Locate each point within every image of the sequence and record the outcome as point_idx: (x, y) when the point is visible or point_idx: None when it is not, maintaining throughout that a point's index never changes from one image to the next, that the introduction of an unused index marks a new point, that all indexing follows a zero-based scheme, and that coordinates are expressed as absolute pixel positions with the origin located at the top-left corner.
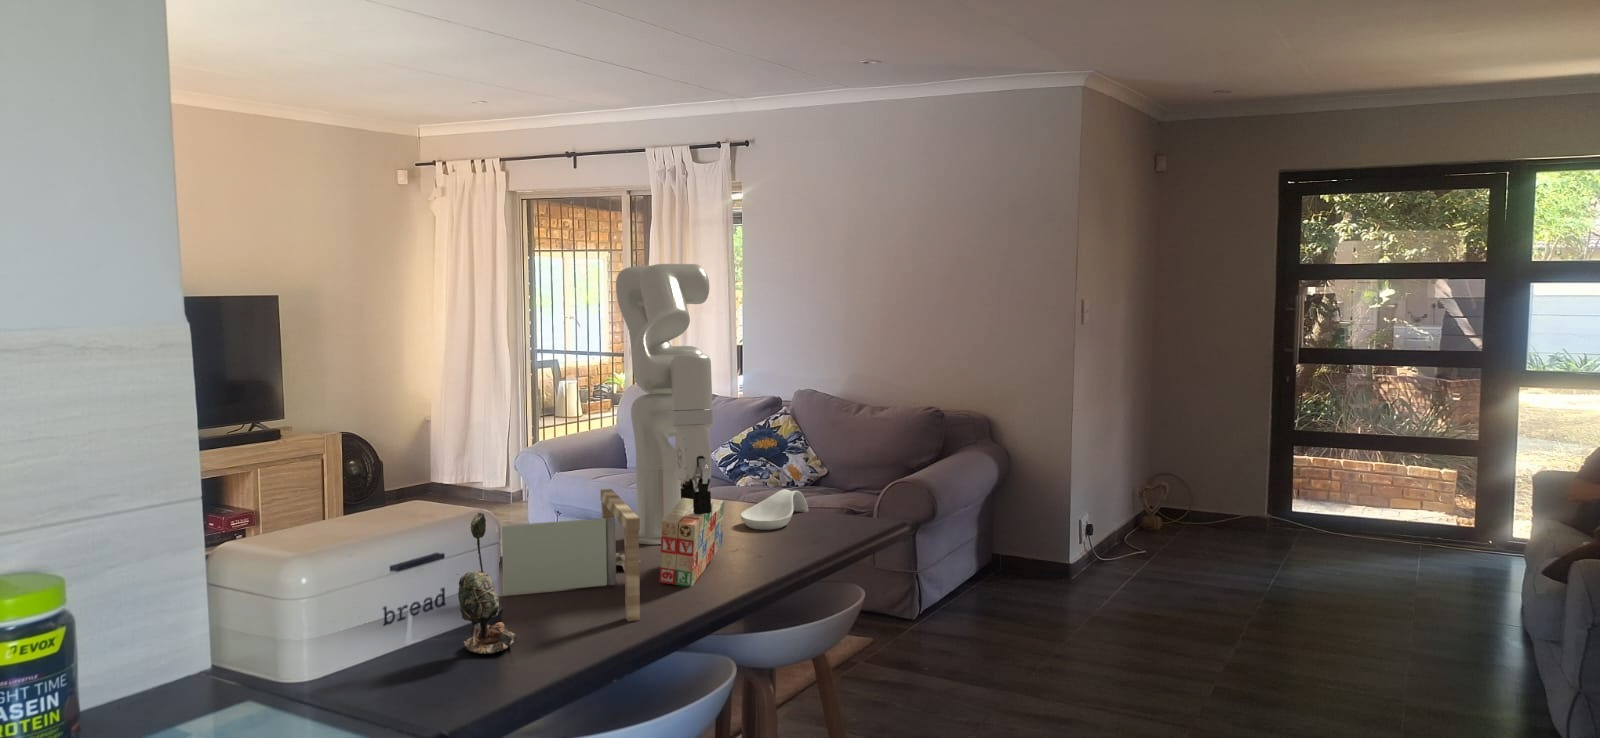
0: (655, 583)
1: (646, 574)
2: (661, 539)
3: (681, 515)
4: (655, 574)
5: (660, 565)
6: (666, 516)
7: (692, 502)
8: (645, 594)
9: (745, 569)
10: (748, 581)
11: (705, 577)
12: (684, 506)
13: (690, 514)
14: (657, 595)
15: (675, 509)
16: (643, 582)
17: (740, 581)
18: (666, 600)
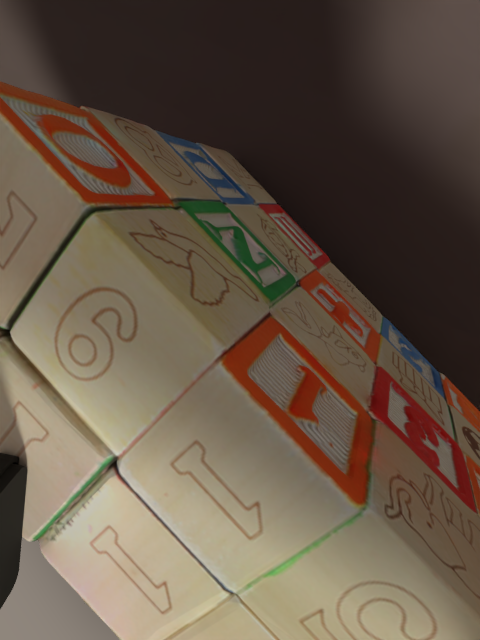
0: (274, 154)
1: (444, 186)
2: (96, 111)
3: (24, 331)
4: (416, 222)
5: (191, 142)
6: (38, 166)
7: (302, 636)
8: (132, 35)
9: None
10: None
11: None
12: (226, 498)
13: (12, 415)
14: (94, 78)
15: (184, 364)
16: (321, 112)
17: None
18: (11, 81)
